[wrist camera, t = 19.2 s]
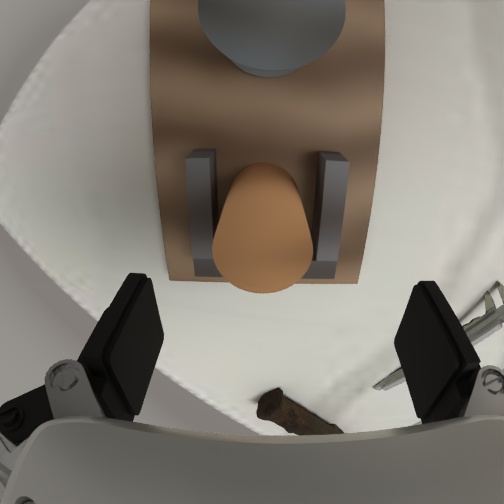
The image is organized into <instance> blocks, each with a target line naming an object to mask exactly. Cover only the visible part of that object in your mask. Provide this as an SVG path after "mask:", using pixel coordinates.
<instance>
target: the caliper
mask: <svg viewBox="0 0 504 504" xmlns="http://www.w3.org/2000/svg"><path fill="white" fill-rule="evenodd" d="M496 286H497V288H498V290H499V293H500V296H501V298H502V301H503V304H504V286H503V285H502V284H501V283H500V282H496ZM485 308H486V314H485V315H483V316H482V317H477V318H474V319H472V320H471V321H470V322H469V323H468V324H465V325H463V326H462V327H463V329H464V331H465V333H466V334H467V336H468V338H469V340H470V342H471V344H472V345H473V346H474V345H476V344H477V343H479V342H481V341H482V340H484V339H485V338H487V337H488V336H490V335H491V334H493V333H494V332H496V331H497V330H499V329H500V328H502V323H503V322H504V305H502V306H500V307H499V308H498V309H496V306H495V304H494V301H493V299H492V297H491V295H490V293H489V292H488V291H487V292H486V293H485ZM405 381H406V379H405V376H404V373H403V370H402V368H401V369H399V370H397V371H395V372H393V373H391V374H390V375H388V376H387V377H386V378H384V379H383V380H381V383H379V384H376V385H374V386H373V388H374V389H376V390H381V389H384V390H388V389H390V388H392V387H394V386H396V385H399V384H401V383H403V382H405Z"/></svg>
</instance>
